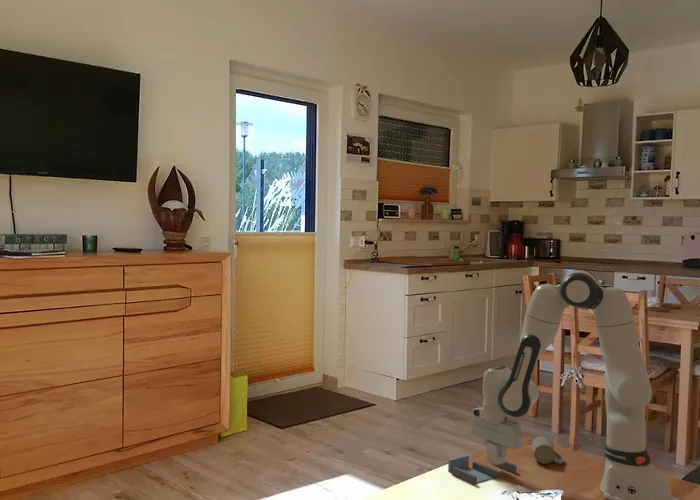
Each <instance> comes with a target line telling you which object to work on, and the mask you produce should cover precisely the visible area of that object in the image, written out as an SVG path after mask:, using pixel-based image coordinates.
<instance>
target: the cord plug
mask: <svg viewBox="0 0 700 500" xmlns="http://www.w3.org/2000/svg"><path fill="white" fill-rule="evenodd" d="M501 450H502V448H501V445H500V444H497V443H494V442H492V441H491V442H487V447H486V462H488V463H490V464H491V465H493V464H494V465H493V466H495V465H498V464H502V463H505V461H506V457H505V458H501V457H499V452H501Z"/></svg>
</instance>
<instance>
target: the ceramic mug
mask: <svg viewBox="0 0 700 500" xmlns="http://www.w3.org/2000/svg"><path fill="white" fill-rule="evenodd" d="M530 447H531V451H532V454H533V456H534V459H535V460H536V461H537V462H538V463H540V464H543V465H549V464H551V463H552V462H554V463H557V464H560V465H561V464H563V463H564V461H565V458H564V457H563V456H562V455H561V454H560V453H558V452H557V451H556V450H555V445H554V443H553V442H552V440H551V439H550V438H549V437H546V436H542V435H541V436H540V435H539V436H537V437H535V438H534V439H533V440H532V441H531V446H530Z"/></svg>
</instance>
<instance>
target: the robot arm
mask: <svg viewBox="0 0 700 500" xmlns="http://www.w3.org/2000/svg"><path fill="white" fill-rule="evenodd" d="M569 306H572V307H574V308H578V309H587V310H592V313H593V316H594V321H595V325H596V330H597V335H598V336H597V337H598V341H599V346H600V352H601V354H602V357H603V360H604V365H605V368H606V370H605V373H604V397H605V399H604V400H605V411H606V443H604V459H605V463H604V469H603V475H602V479H601V482H600V486H599V489H600V492H602V493H603V498H604V499H608V500H680V499H679V498H677V497H675V496H674V495H672V489H671V484H670V482H669V480H668V479H667V478H666V477H665V476H664V475H663V474H662V473H661V472H660V471H659V470H658V469H657V468H656V467H655V466H654V465H653V464H652V461H651V459H653V458H654V453H651V454H649V452H648V450H647V448H646V434H647V433H646V431H647V430H646V428H647V426H646V424H647V422H646V418H645V412H644V407H646V406H648V405H649V404H650V402H651V400H652V397H653V389H652V384H651V383H650V382H651V381H650V378H649V373H648V371H647V367H646V363H645V360H644V356H643V354H642V350H641V348H640V344H639V338H638V333H637V327H636V322H635V318H634V313H633V310H632V307H631V304H630V301H629V298H628V296H627V294H626V291H624V290H623V289H621V288H618V287H614V286H607V287H603V286H601V285H600V284H599V282H598V279H597V277H596V276H595V275H594V274H593V273H592V272H590V271H589V270H586V269H580V268H579V269H574V270H572V271H570V272H569V273H567V274H566V275H565V276H564V277H563V278H562V279H561V280H560V281H559V282H558V283H557V285H556V284H555V285H554V284H551V283H544V284H543V283H541V284H540V285H538V286H537V287H535V289H534V291H533V293H532V296H531V297H530V299H529V302H528V305H527V308H526V311H525V313H524V314H525V315H524V318H523V319H524V320H523V323H522V329H521V334H520V340H519V345H518V350H517V352H516V356H515V360H514V363H513V366H512V368H511V369H510V368H509V367H508V366H506V365H494V366H490V367H488V368H486V369H485V370H484V373H483V379H482V394H483V401H482V406H480V407H479V406H478V407H476V408H471V415H472V417H471V419H470V420H471V421H470V422H471V423H470V428H471V429H470V430H471V433H472V435H473V436H475V437H478V438H481V439H483V442H484V445H485V446H486V447H485V448H487V442H491V441H492V442H494V443H497V444H500V445H501V448H502V450H501V452H499V457H501V458H505V459H506V457H507V455H506V454H507V451H508V449H510V450H519V449H521V448H522V447H523V436H522V433H523V432H522V428H521V424H520V422H518V420H516V419H512V418H511V417H513V418H518V417H522V416H525V414H526V413H527V412H528V411H529V409H530V408H532V406H533V405H535V404H536V402H537V401H538V400H539V397H540V389H539V386H538V384H537V383H536V382H535V381H534V379H533V380H532V378H533V375H534V371H535V368H536V365H537V363H538V360H539V359H540V357H541V355H542V354H543V353H544V352H545V351H546V349H548V348H549V347H550V345H551V344H552V343H553V342H554V339H555V338H556V337H557V335H558V331H559V328H560V325H561V321H562V318H563V315H564V312H565V311H566V308H568V307H569Z"/></svg>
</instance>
